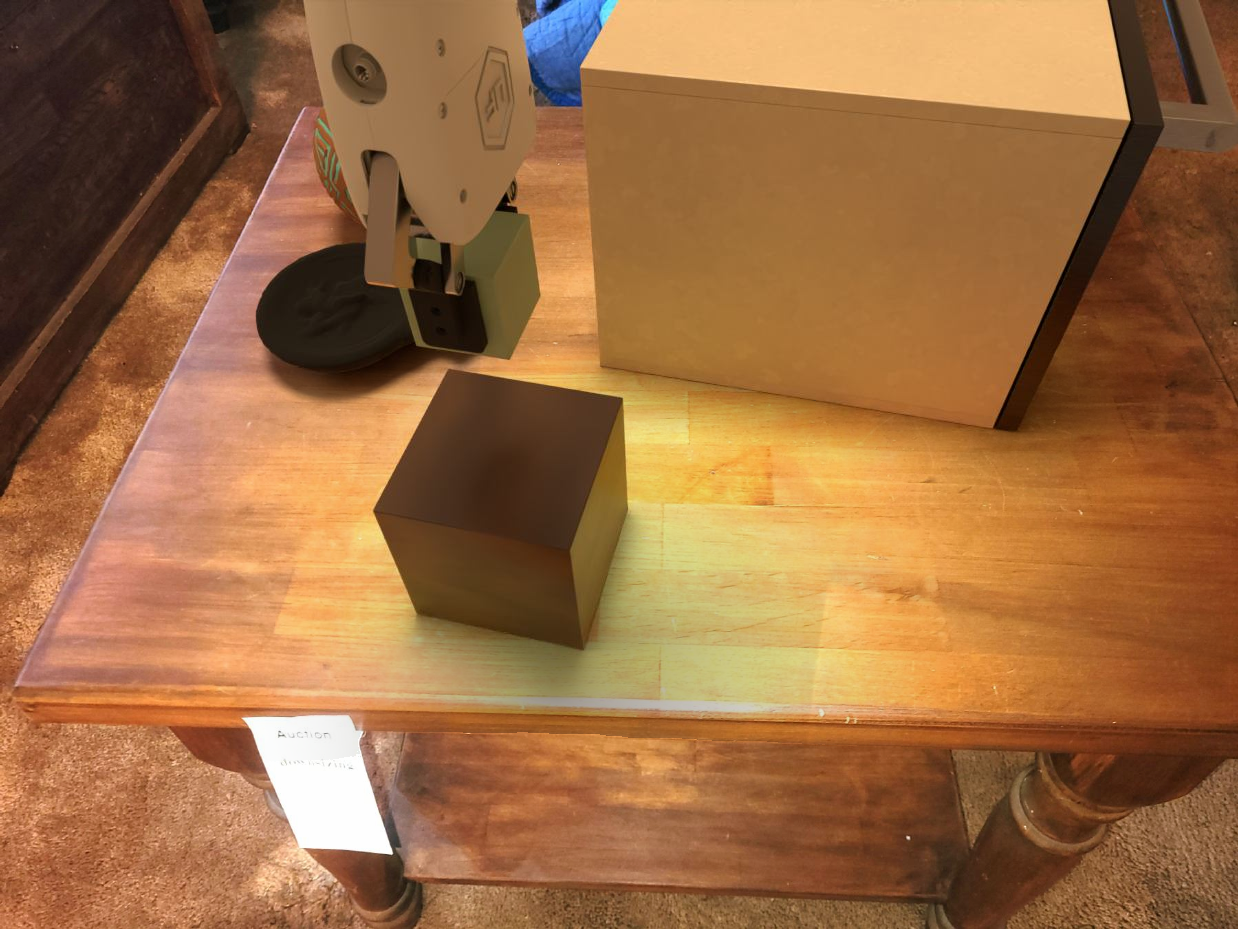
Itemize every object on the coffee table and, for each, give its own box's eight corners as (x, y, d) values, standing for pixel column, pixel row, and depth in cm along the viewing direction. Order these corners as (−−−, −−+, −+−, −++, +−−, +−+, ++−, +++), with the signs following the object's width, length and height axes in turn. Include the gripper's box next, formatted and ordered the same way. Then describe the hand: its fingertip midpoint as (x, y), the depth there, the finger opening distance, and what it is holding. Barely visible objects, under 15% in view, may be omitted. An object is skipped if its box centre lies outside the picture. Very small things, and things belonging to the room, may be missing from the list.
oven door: (1069, 159, 91) (1183, -124, 72) (1099, 444, 67) (1285, 136, 47) (993, 151, 93) (1084, -129, 73) (996, 428, 69) (1134, 122, 49)
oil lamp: (467, 408, 72) (456, 364, 68) (243, 391, 74) (220, 348, 70) (505, 290, 81) (497, 246, 78) (304, 279, 83) (287, 235, 80)
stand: (628, 508, 65) (623, 397, 56) (583, 650, 58) (569, 550, 49) (476, 479, 67) (448, 367, 58) (416, 613, 60) (371, 510, 51)
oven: (990, 152, 93) (1082, -131, 73) (992, 428, 69) (1131, 119, 49) (693, 121, 99) (703, -149, 79) (600, 366, 75) (579, 66, 55)
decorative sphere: (460, 275, 83) (428, 128, 71) (314, 259, 85) (260, 114, 74) (505, 185, 92) (483, 42, 81) (372, 172, 95) (332, 31, 83)
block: (541, 295, 46) (529, 213, 42) (510, 360, 43) (494, 278, 39) (452, 283, 47) (433, 202, 43) (415, 346, 44) (391, 264, 40)
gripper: (385, 14, 24) (489, 444, 38) (563, -175, 35) (594, 217, 49) (152, -3, 26) (334, 417, 40) (390, -180, 36) (468, 203, 50)
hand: (476, 304), depth 44 cm, fingers closed on block, 5 cm apart
